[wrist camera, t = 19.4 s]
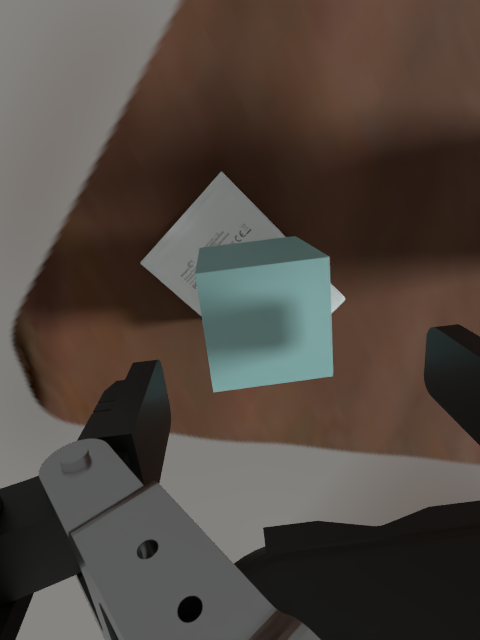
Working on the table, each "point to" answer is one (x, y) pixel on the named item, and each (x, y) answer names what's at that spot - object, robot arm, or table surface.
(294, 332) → the teal block
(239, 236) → the external hard drive
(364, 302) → the table surface
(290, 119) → the table surface
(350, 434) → the table surface
